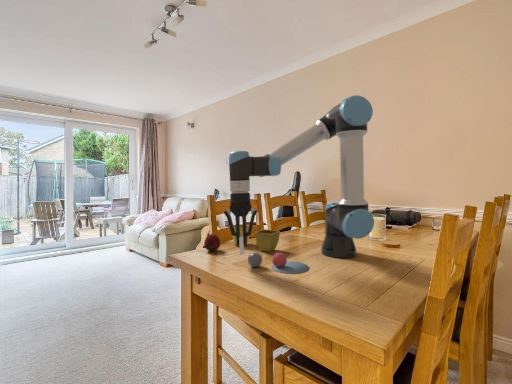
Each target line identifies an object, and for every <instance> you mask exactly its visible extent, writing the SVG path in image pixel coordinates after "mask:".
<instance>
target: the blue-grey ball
mask: <svg viewBox="0 0 512 384" xmlns="http://www.w3.org/2000/svg"><path fill="white" fill-rule="evenodd" d="M247 262H248V265H249V266H250V267H252V268H258V267H259V266H261V264H262V262H263V257H262V255H261V254H260V253H259V252H255V251H254V252H251V253H250V254H249V255H248V257H247Z"/></svg>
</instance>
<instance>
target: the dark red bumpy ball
mask: <svg viewBox="0 0 512 384" xmlns="http://www.w3.org/2000/svg"><path fill="white" fill-rule="evenodd" d="M203 246H204V249H206V250H207V251H209V252H215V251H217V250H219V249H220V247H221V240H220V237H219V235H217V234H216V233H212V234H208V235H207V236H206V237H205V240H204V245H203Z"/></svg>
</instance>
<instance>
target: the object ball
mask: <svg viewBox="0 0 512 384" xmlns="http://www.w3.org/2000/svg"><path fill="white" fill-rule="evenodd" d="M271 258H272V259H271V260H272V261H271V263H272V265H273V264H274V265H275V266H276V267H283V266H285V264H286V262H287V261H288V260H287V259H288V258H287V256H286V254H284V253H283V252H276V253H274V254H273V256H272V257H271Z"/></svg>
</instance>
